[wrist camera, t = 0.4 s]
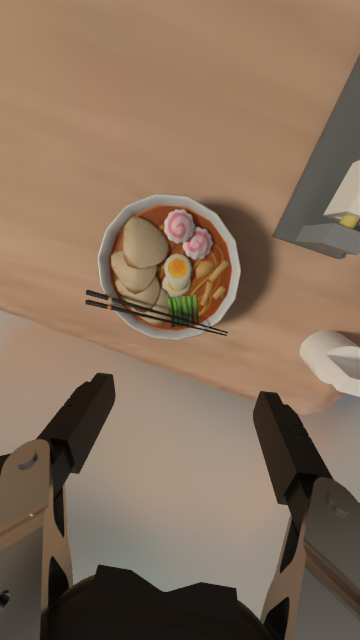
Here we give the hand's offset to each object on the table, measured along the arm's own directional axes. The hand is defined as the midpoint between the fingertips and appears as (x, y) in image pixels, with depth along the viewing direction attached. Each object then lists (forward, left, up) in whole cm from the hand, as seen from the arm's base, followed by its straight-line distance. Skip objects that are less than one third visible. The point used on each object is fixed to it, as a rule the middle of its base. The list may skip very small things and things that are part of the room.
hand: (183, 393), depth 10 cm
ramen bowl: (-2, -4, -29) cm, 29 cm away
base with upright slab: (+21, +24, -29) cm, 43 cm away
